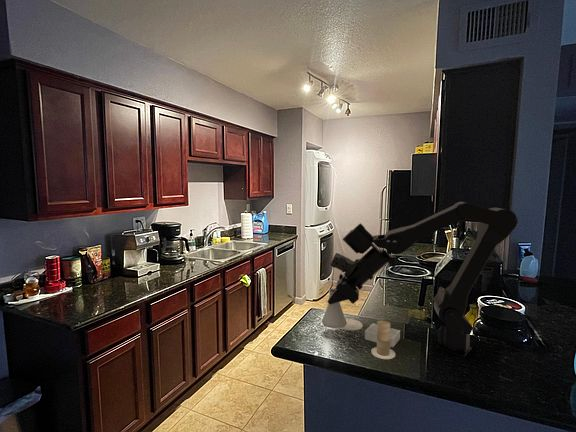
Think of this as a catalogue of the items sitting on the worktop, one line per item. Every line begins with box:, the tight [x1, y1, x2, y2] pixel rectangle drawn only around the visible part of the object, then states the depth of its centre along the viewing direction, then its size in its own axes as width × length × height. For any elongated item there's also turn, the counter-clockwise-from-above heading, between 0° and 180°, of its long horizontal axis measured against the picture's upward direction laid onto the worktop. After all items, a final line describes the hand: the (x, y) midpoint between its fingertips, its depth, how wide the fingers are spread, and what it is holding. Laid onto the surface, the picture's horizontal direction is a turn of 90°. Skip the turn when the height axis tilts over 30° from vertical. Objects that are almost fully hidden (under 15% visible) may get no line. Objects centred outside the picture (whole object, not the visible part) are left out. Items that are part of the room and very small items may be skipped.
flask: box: [321, 288, 347, 329], centre depth 89 cm, size 7×7×10 cm
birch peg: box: [376, 319, 391, 356], centre depth 80 cm, size 3×3×8 cm
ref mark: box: [370, 346, 396, 360], centre depth 80 cm, size 6×6×1 cm
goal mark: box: [341, 318, 363, 331], centre depth 97 cm, size 8×8×1 cm
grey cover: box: [364, 322, 401, 348], centre depth 87 cm, size 8×6×3 cm
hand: (329, 300), depth 90 cm, fingers closed on flask, 3 cm apart
